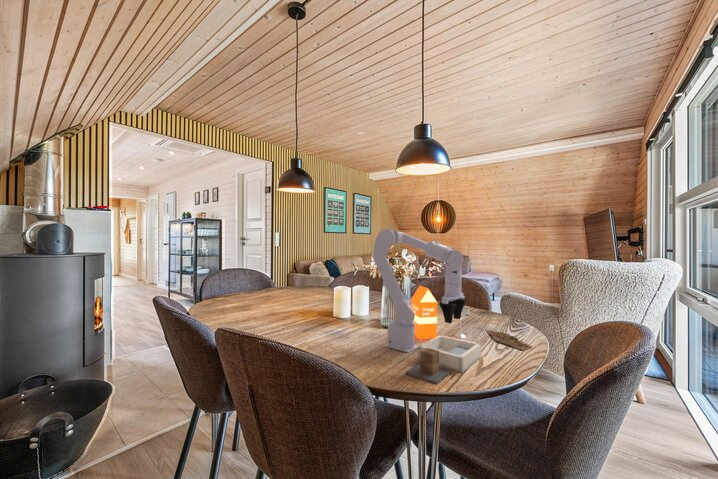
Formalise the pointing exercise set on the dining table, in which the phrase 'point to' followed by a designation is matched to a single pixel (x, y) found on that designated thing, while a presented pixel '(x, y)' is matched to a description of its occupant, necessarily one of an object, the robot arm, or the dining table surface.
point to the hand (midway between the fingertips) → (452, 320)
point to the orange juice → (424, 313)
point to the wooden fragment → (508, 340)
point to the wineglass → (464, 315)
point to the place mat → (431, 378)
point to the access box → (453, 352)
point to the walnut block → (429, 361)
